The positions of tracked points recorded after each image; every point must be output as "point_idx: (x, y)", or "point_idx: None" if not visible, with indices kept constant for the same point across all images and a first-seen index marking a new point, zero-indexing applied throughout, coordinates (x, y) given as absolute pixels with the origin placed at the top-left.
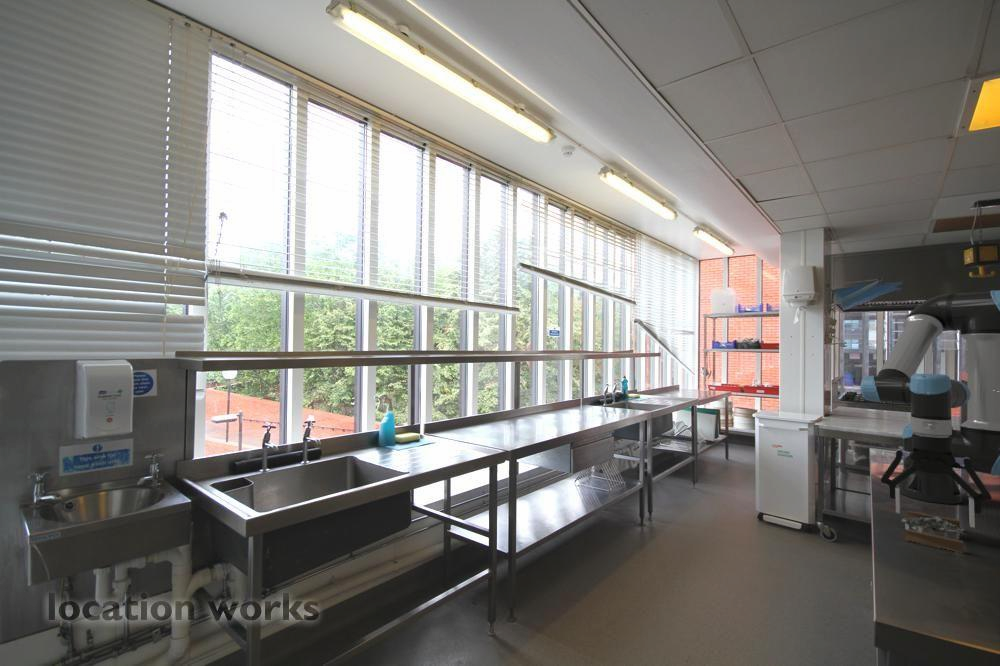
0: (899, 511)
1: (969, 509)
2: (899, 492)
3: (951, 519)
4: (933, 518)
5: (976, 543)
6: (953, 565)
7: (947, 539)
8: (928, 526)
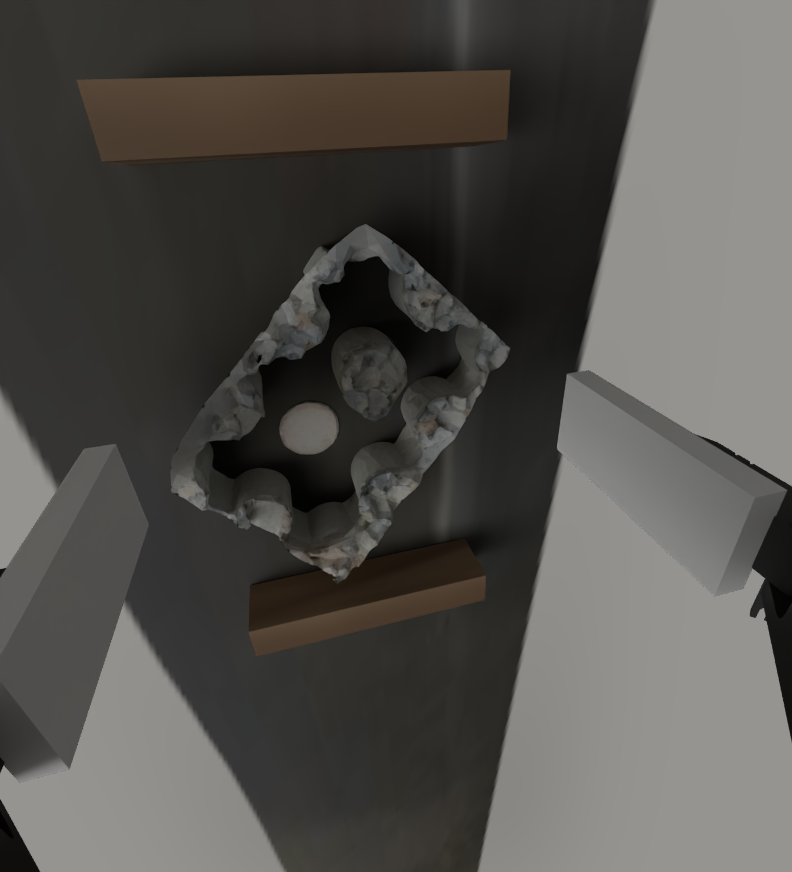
0: (143, 536)
1: (643, 476)
2: (61, 637)
3: (455, 101)
4: (339, 269)
5: (529, 350)
6: (431, 686)
7: (429, 609)
8: (344, 541)
